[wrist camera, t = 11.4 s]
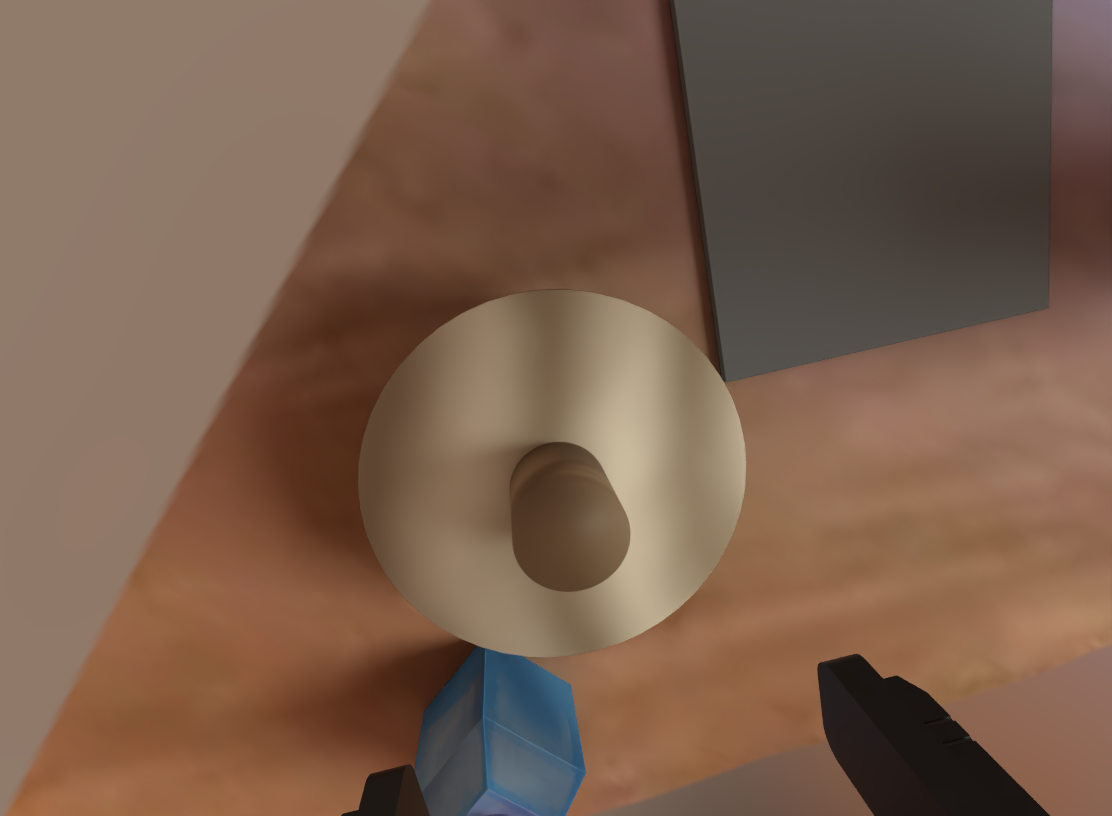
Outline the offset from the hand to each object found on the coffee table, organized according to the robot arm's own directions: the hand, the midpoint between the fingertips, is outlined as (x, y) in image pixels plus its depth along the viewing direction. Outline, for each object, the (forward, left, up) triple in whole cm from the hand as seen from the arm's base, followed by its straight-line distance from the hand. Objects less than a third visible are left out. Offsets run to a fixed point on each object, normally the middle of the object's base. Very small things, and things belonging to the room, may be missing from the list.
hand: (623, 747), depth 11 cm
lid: (0, 0, -14) cm, 14 cm away
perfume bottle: (+6, +15, -20) cm, 26 cm away
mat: (-19, -10, -20) cm, 29 cm away
